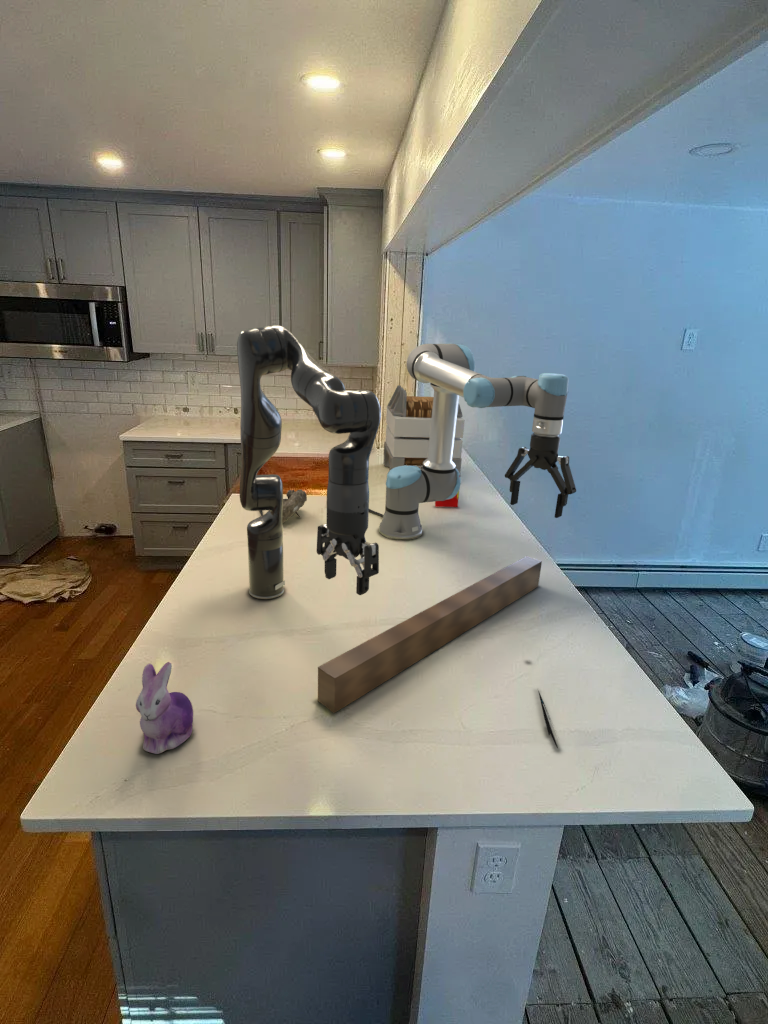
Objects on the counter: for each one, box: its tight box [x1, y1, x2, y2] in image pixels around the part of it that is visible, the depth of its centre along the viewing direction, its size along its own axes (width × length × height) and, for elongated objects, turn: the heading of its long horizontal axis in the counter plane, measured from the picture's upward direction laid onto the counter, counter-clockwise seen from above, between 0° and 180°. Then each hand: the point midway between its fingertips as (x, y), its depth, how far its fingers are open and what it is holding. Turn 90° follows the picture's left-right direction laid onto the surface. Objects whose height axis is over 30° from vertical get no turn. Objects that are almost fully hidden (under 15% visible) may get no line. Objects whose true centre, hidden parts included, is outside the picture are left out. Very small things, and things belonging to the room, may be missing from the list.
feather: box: [528, 660, 560, 749], centre depth 116 cm, size 2×28×2 cm
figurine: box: [135, 661, 194, 755], centre depth 100 cm, size 9×10×15 cm
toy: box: [434, 475, 461, 508], centre depth 240 cm, size 12×13×30 cm
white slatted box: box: [383, 384, 465, 475], centre depth 268 cm, size 34×33×41 cm
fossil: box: [282, 489, 308, 524], centre depth 209 cm, size 22×10×15 cm
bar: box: [317, 555, 543, 714], centre depth 138 cm, size 80×5×8 cm, turn 137°
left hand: (346, 585), depth 106 cm, fingers open, 8 cm apart
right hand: (535, 510), depth 156 cm, fingers open, 13 cm apart
